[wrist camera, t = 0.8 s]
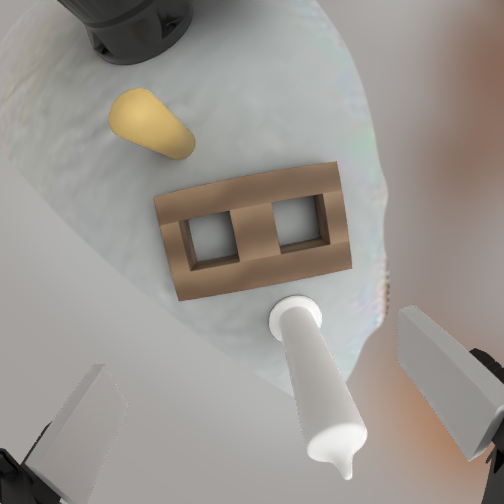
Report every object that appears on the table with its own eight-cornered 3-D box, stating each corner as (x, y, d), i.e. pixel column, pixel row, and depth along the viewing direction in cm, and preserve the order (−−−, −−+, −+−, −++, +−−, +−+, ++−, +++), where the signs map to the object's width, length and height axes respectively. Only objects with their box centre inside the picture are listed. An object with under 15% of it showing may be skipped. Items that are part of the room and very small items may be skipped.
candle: (290, 351, 38) (328, 509, 13) (257, 317, 37) (269, 485, 12) (330, 320, 37) (413, 463, 13) (300, 284, 36) (376, 430, 11)
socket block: (165, 196, 33) (153, 196, 29) (325, 164, 33) (336, 161, 28) (186, 288, 36) (178, 301, 31) (340, 259, 35) (352, 268, 31)
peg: (161, 133, 32) (106, 98, 17) (192, 124, 32) (154, 81, 17) (166, 163, 33) (111, 145, 18) (197, 155, 32) (161, 129, 18)
